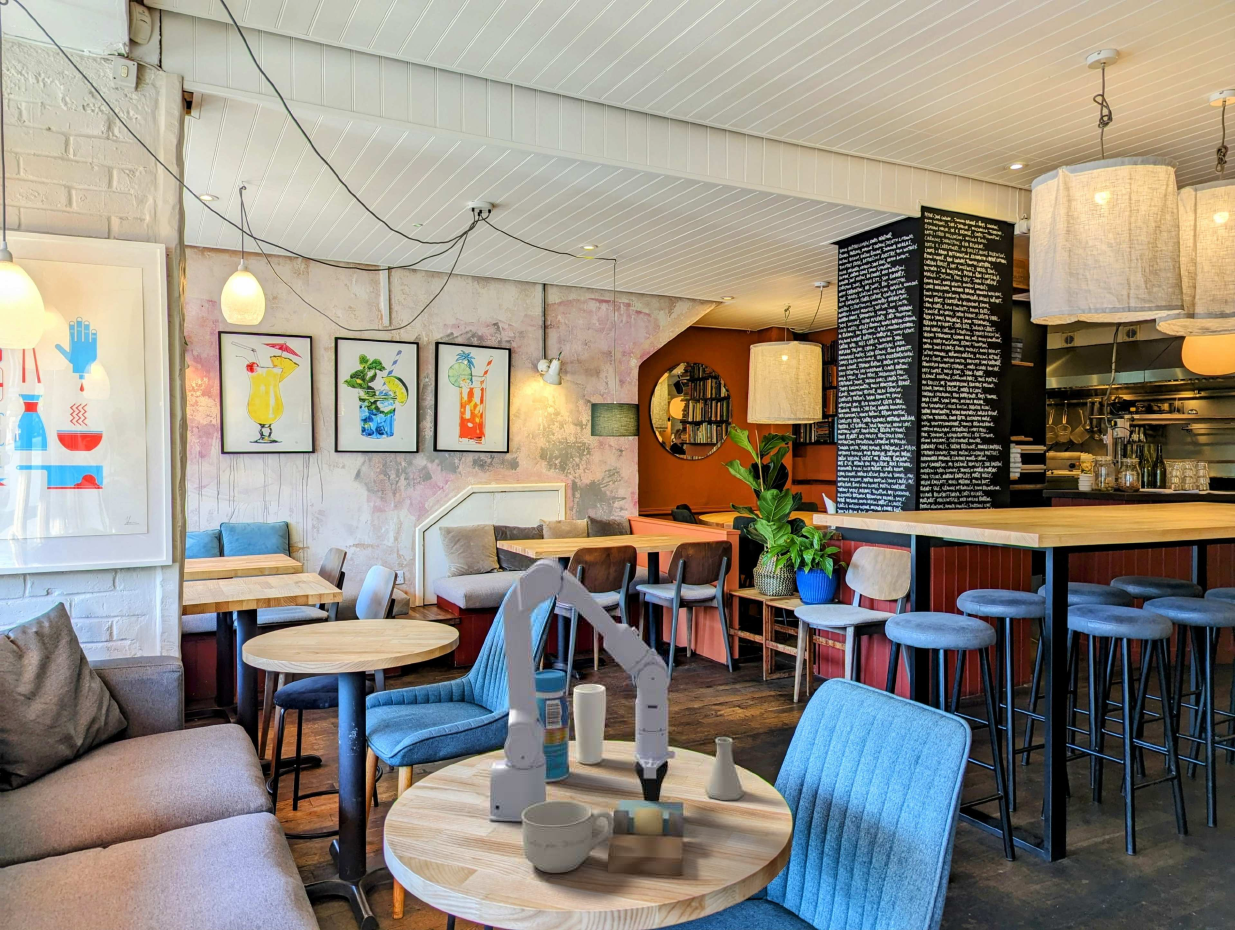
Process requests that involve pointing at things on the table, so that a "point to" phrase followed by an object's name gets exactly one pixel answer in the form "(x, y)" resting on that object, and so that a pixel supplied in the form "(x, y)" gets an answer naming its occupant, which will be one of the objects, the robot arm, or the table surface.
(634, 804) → the loose hinge leaf
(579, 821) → the teacup
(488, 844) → the table surface
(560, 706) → the beverage bottle
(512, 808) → the robot arm
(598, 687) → the drinking glass
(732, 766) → the flask
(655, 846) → the fixed hinge leaf
